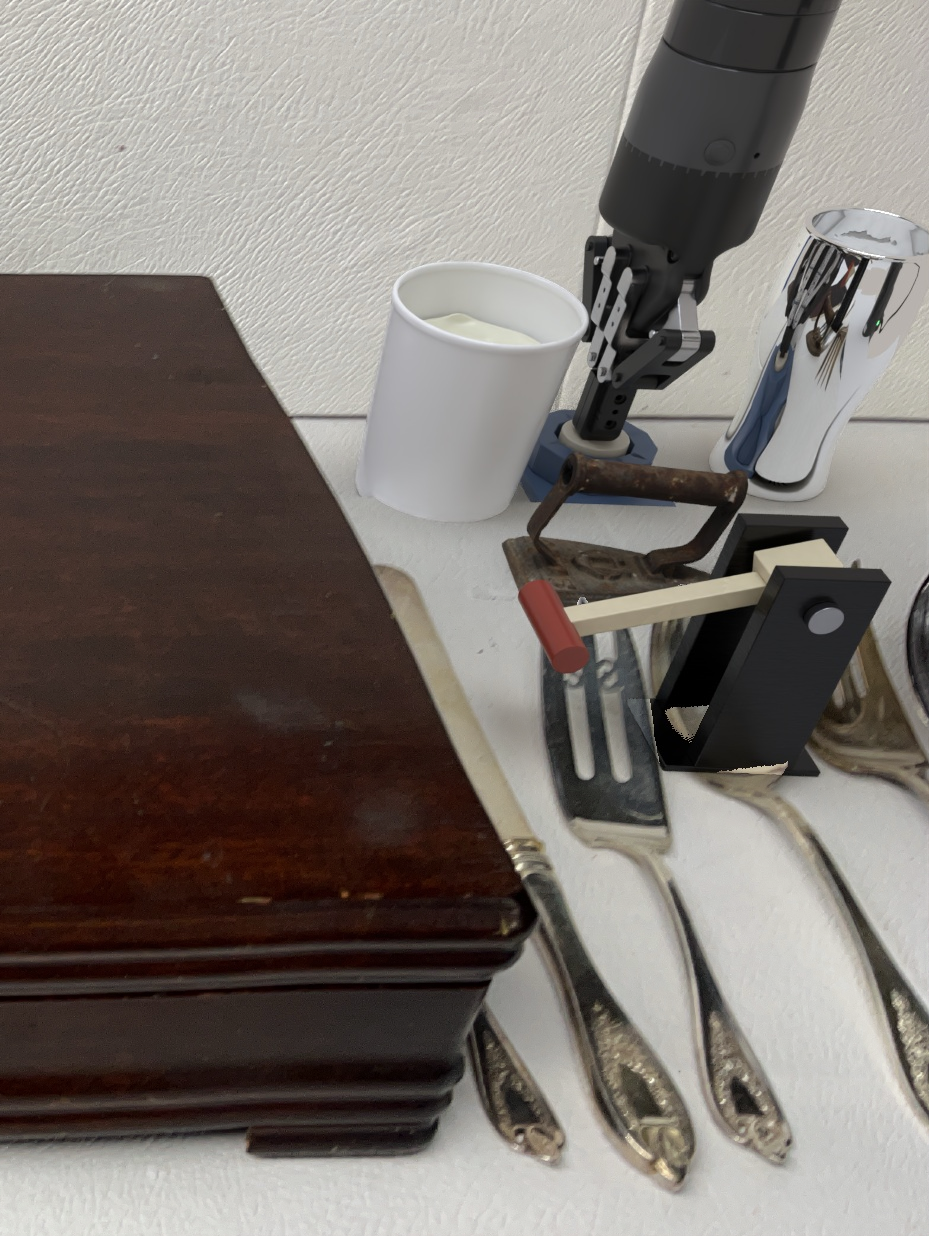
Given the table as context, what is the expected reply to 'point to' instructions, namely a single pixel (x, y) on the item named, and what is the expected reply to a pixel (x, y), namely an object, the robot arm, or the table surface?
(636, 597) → the switch lever
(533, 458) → the button block
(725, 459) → the beer glass
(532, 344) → the candle holder
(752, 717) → the switch bracket
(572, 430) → the button
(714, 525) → the clothes iron
